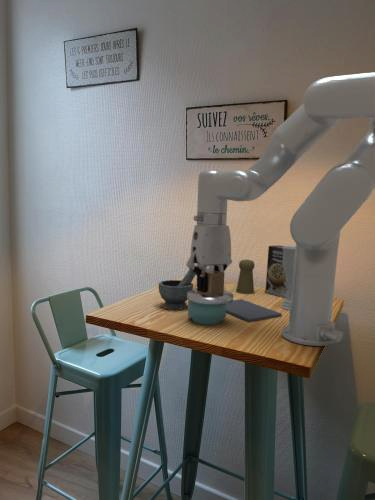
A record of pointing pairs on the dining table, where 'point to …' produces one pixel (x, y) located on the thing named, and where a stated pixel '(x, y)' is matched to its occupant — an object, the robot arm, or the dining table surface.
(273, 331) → the dining table surface
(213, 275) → the lid
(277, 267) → the coffee box
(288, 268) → the chalice
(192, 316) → the bowl
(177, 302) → the mortar and pestle
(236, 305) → the mat
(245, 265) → the olive pawn
